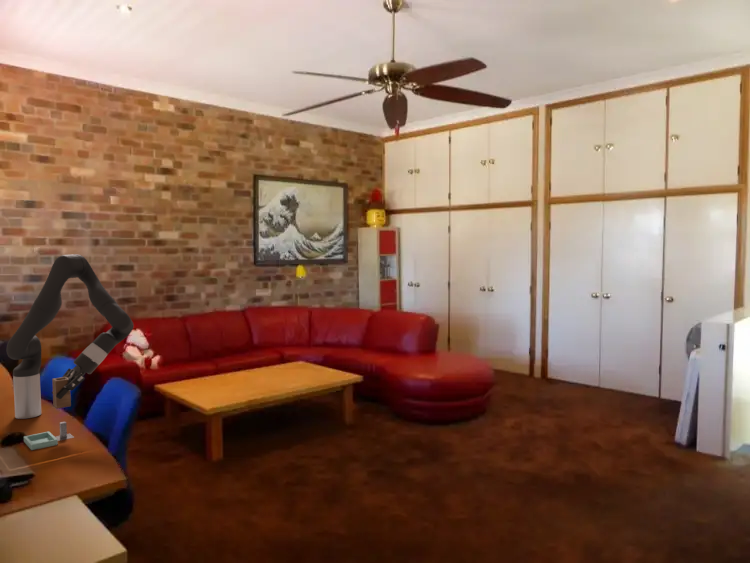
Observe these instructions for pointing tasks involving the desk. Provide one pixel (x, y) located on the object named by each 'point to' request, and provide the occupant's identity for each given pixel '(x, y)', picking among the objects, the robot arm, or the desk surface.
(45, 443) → the tray
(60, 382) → the brown rectangular box
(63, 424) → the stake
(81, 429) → the desk surface
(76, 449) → the desk surface
